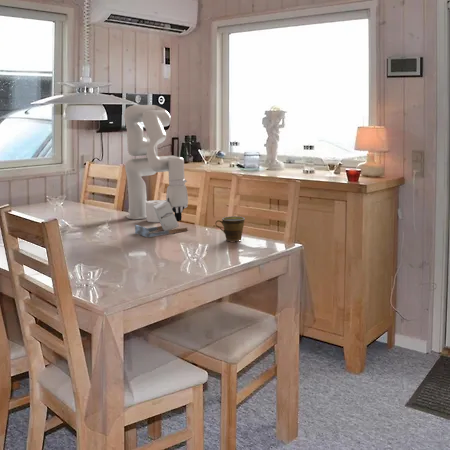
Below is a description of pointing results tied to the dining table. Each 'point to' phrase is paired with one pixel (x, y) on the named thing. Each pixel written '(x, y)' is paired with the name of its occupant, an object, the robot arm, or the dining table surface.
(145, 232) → the blue brown forked frame
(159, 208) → the supplement box
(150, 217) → the toilet tissue
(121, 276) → the dining table surface
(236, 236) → the ceramic cup
